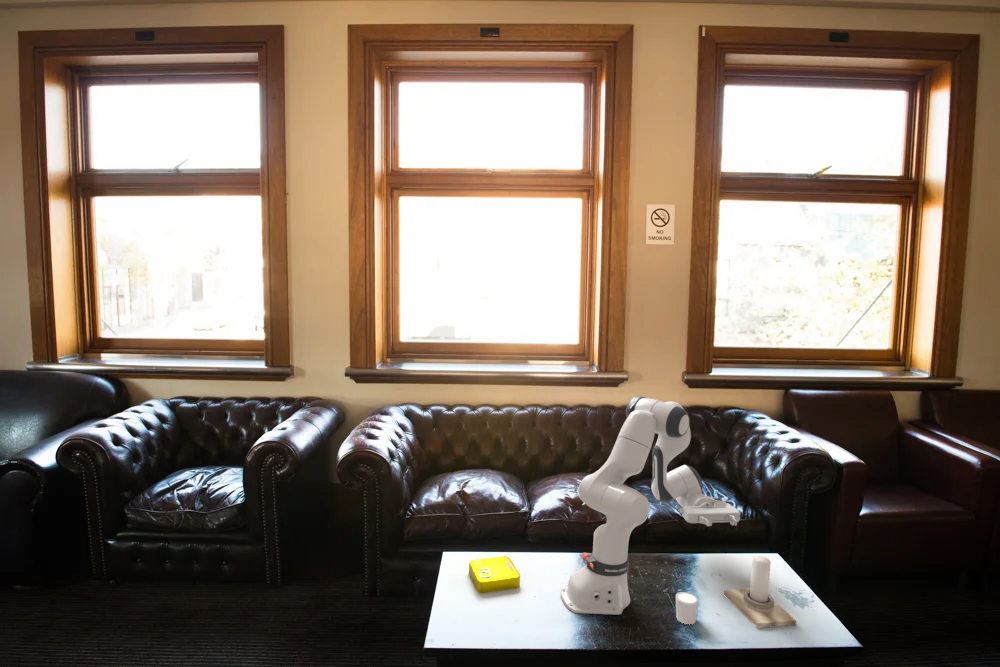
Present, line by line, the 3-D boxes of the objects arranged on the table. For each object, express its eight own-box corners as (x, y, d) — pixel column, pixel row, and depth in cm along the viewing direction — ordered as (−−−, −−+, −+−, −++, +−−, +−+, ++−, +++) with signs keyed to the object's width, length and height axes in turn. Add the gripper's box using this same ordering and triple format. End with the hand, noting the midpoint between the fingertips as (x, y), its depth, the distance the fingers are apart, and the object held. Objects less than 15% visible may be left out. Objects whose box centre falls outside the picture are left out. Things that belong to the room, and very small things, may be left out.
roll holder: (757, 628, 166) (758, 615, 166) (723, 594, 184) (724, 583, 183) (795, 624, 168) (796, 612, 168) (758, 591, 186) (759, 580, 185)
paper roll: (755, 609, 173) (759, 564, 171) (745, 600, 178) (749, 556, 176) (770, 608, 174) (774, 563, 172) (760, 599, 179) (763, 555, 177)
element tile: (521, 589, 184) (521, 575, 184) (478, 595, 180) (478, 581, 180) (507, 566, 199) (508, 553, 198) (467, 571, 194) (467, 558, 194)
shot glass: (694, 613, 173) (695, 592, 172) (700, 627, 166) (701, 605, 165) (672, 611, 173) (673, 590, 173) (676, 625, 166) (678, 603, 166)
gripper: (676, 500, 202) (695, 515, 189) (727, 498, 206) (749, 514, 192) (675, 516, 203) (694, 533, 189) (726, 515, 206) (748, 531, 193)
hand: (722, 523), depth 191 cm, fingers open, 8 cm apart
